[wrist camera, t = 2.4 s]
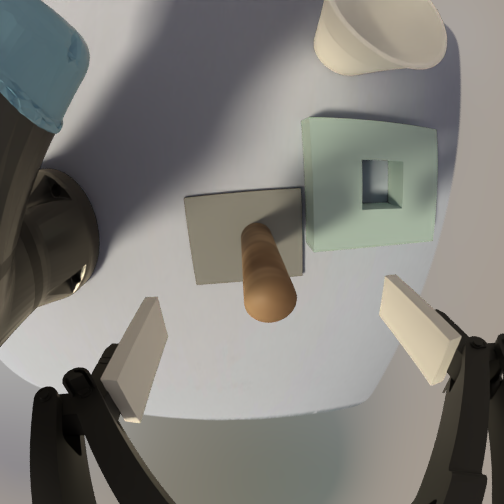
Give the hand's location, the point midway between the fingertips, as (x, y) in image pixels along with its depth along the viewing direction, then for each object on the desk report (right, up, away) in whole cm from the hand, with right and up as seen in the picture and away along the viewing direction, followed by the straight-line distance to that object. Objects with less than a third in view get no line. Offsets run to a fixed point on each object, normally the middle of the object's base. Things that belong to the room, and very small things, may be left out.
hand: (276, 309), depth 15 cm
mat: (-2, +5, +12) cm, 13 cm away
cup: (+8, +23, +6) cm, 25 cm away
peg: (-1, +4, +12) cm, 13 cm away
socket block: (+11, +10, +11) cm, 18 cm away
